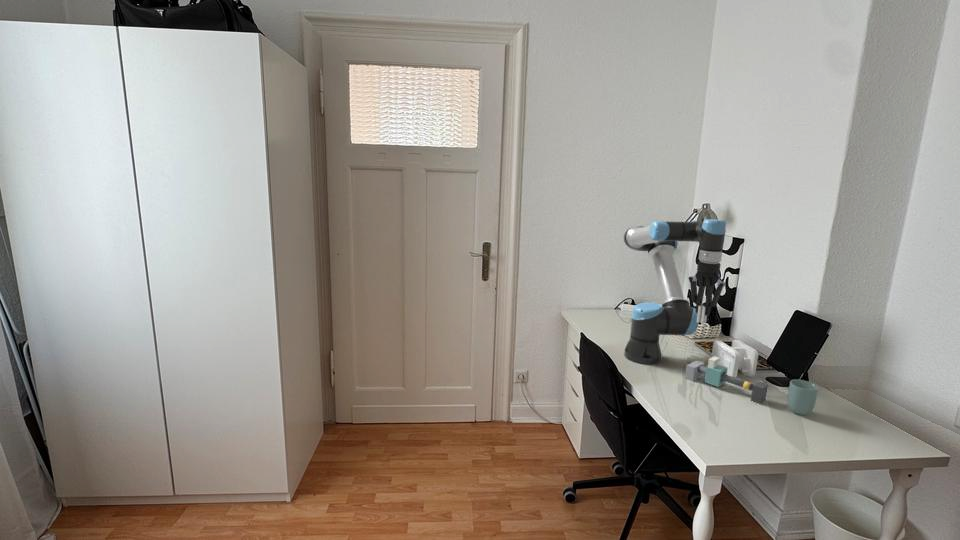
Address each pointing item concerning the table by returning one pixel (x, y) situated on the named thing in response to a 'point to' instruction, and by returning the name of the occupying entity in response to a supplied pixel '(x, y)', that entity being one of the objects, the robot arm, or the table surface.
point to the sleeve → (715, 372)
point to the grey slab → (693, 370)
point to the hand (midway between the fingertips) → (701, 322)
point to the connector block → (759, 392)
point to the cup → (802, 396)
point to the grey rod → (730, 379)
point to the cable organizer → (736, 357)
